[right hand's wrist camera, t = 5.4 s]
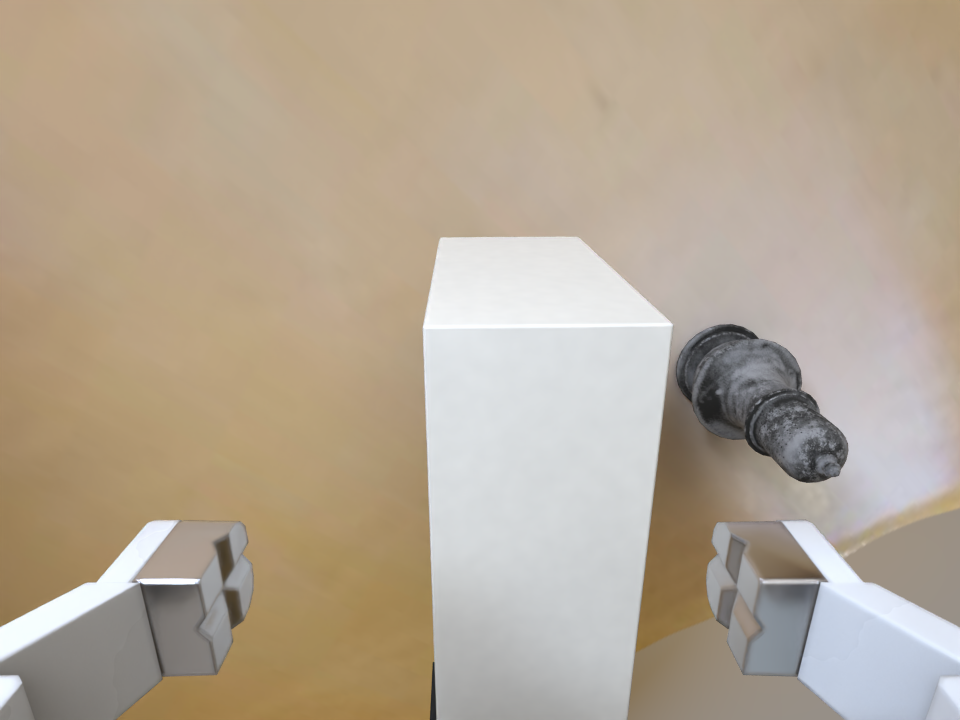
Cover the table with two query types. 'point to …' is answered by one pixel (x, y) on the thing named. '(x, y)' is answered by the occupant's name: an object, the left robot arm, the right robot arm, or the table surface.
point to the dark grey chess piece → (759, 401)
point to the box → (538, 476)
